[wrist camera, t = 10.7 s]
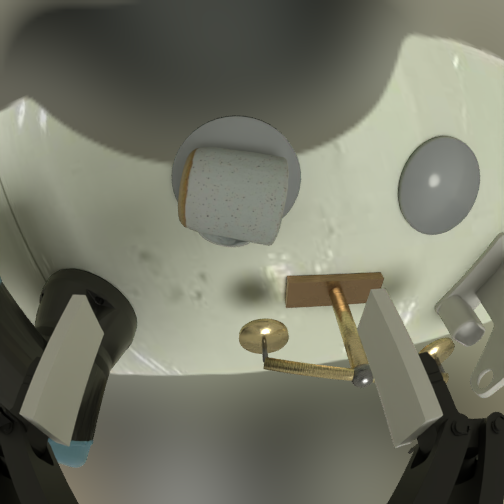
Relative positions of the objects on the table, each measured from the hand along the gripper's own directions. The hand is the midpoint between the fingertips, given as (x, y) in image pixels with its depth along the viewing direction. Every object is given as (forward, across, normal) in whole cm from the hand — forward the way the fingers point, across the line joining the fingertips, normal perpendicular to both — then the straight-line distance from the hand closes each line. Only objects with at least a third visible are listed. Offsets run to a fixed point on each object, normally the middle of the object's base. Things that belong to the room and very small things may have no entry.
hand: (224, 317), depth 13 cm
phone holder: (+17, +38, -15) cm, 45 cm away
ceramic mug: (+17, 0, -1) cm, 17 cm away
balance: (+17, +12, -14) cm, 25 cm away
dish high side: (+17, +23, 0) cm, 29 cm away
